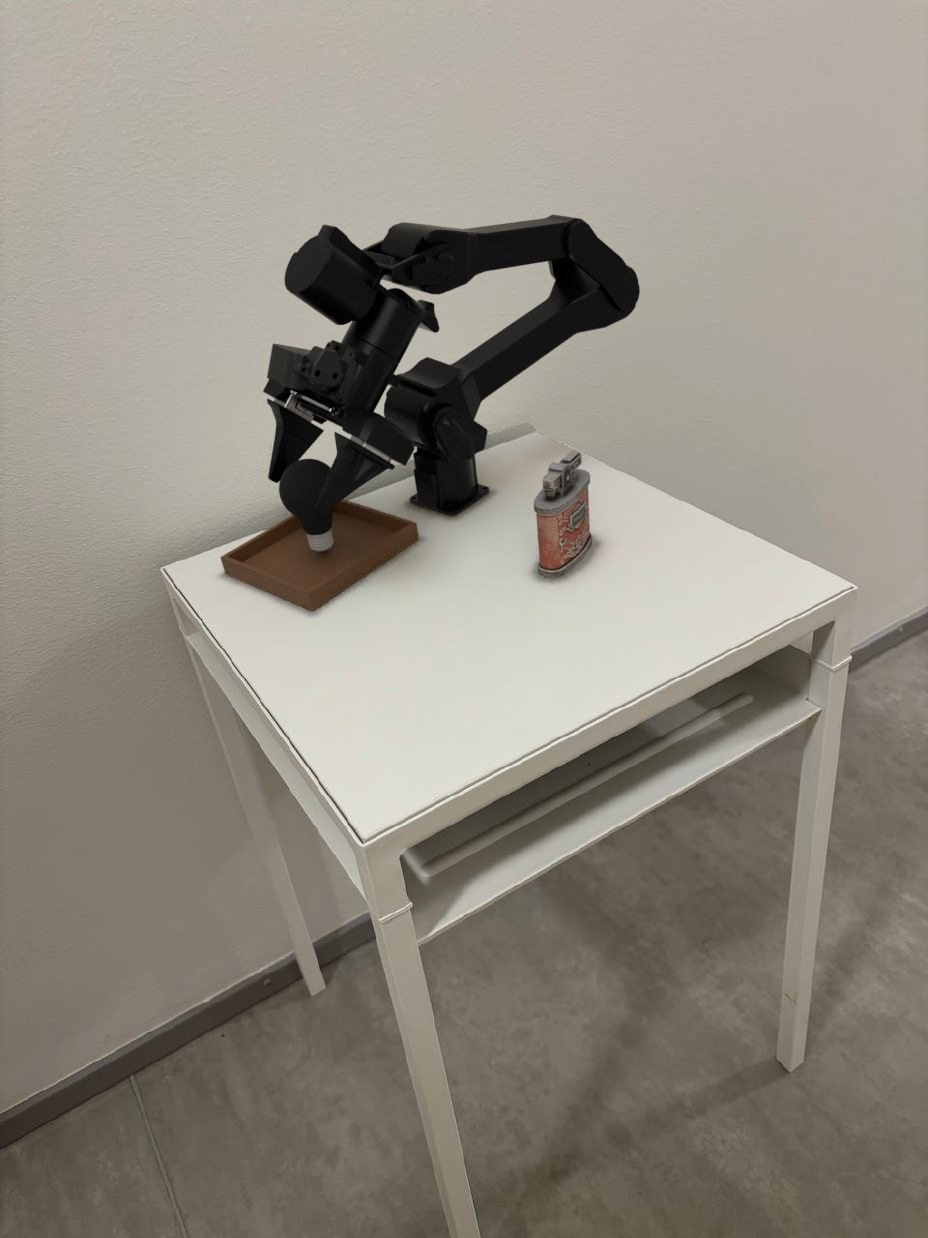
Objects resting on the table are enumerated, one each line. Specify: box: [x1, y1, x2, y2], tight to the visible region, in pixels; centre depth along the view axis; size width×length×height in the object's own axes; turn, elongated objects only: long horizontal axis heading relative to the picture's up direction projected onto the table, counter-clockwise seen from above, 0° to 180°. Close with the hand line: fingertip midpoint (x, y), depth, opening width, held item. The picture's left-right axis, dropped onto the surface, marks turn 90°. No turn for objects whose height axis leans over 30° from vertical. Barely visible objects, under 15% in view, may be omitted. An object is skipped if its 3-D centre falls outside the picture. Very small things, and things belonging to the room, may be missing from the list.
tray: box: [220, 498, 420, 612], centre depth 96 cm, size 15×13×2 cm
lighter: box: [533, 449, 593, 580], centre depth 88 cm, size 8×3×10 cm, turn 148°
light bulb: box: [278, 458, 336, 553], centre depth 93 cm, size 6×6×10 cm
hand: (295, 495), depth 91 cm, fingers open, 9 cm apart
